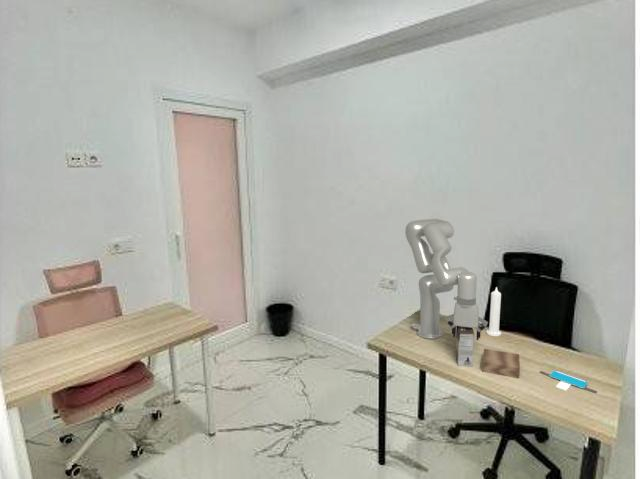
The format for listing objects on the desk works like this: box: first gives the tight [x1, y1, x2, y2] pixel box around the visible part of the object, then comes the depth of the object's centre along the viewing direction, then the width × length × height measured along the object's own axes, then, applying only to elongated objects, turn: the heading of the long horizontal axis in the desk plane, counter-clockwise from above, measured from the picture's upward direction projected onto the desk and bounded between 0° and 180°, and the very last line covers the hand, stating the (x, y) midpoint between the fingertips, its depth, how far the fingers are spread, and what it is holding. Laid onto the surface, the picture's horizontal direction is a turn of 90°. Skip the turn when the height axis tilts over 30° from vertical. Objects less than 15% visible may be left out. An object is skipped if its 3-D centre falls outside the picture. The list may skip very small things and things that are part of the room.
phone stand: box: [539, 369, 598, 394], centre depth 154 cm, size 20×12×2 cm, turn 41°
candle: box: [485, 286, 502, 337], centre depth 194 cm, size 7×7×25 cm
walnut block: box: [481, 348, 521, 379], centre depth 166 cm, size 14×12×5 cm
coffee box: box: [455, 326, 475, 367], centre depth 171 cm, size 9×6×16 cm
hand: (465, 337), depth 170 cm, fingers open, 9 cm apart
